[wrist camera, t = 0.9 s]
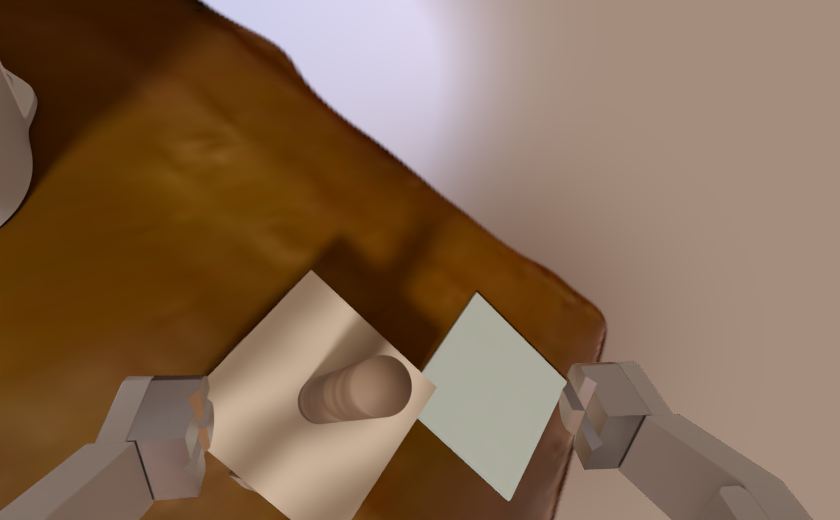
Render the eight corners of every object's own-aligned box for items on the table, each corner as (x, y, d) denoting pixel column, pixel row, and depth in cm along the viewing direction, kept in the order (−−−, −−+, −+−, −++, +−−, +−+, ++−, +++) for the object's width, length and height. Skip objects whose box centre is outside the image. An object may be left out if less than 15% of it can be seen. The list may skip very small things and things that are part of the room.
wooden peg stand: (162, 421, 36) (184, 406, 22) (290, 289, 44) (367, 215, 30) (304, 537, 38) (406, 591, 24) (403, 393, 46) (525, 371, 32)
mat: (400, 402, 45) (402, 401, 45) (474, 293, 53) (476, 292, 53) (507, 500, 48) (509, 500, 47) (564, 382, 55) (567, 381, 55)
